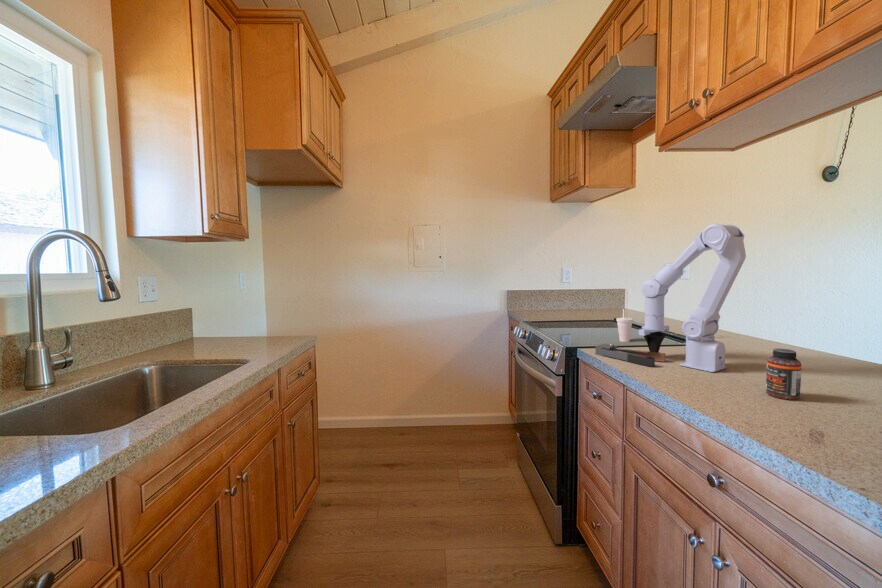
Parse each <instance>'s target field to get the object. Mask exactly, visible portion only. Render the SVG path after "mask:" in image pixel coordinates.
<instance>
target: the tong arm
mask: <svg viewBox="0 0 882 588" xmlns="http://www.w3.org/2000/svg"><path fill="white" fill-rule="evenodd" d="M612 350H617V351H622V352H626V353H633V354H637V355H642V356H647V357H652V358H655V362H663V363H664V362H665V361H666V352H660V351H659V352H650V351H649V350H642V349H641V350H638V349H629V348H628V349H627V348H620V347H618V348H614V349H612Z"/></svg>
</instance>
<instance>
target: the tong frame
mask: <svg viewBox="0 0 882 588" xmlns="http://www.w3.org/2000/svg"><path fill="white" fill-rule="evenodd" d="M614 348H619V347H618V345H616V344H615V343H609V344H608V343H603V344H598V345H595V348H594V349H595V351H594V352H595V355H598V356H603V357H609V358H614V359H618V360H620V361H625V362H629V363H634V364H636V365H637V364H638V365H642V366H646V367H650V368H652V367H655V366H656V361H655V358H652V357H647V356H642V355H637V354H633V353H626V352H622V351H617V350H612V349H614Z"/></svg>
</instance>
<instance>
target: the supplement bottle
mask: <svg viewBox="0 0 882 588" xmlns="http://www.w3.org/2000/svg"><path fill="white" fill-rule="evenodd" d="M802 366H803V365H802V361H800V360H799V359H797V351H796V350H794V349H788V348H773V349H772V356H770V357H768V358H767V361H766V379H765V381H766V382H765V393H766V394H767V395H769V396H770V397H773V398H777V399H780V398H781V399H780V400H786V399H789V400H788V401H793V400H798V399H800V397H801V387H802V385H801V382H802Z"/></svg>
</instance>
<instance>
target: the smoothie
mask: <svg viewBox="0 0 882 588" xmlns="http://www.w3.org/2000/svg"><path fill="white" fill-rule="evenodd" d="M615 320H616V322H617V323H616V324H617V331H618V337H619V342H622V343H629V342H630V341H631V334H632V333H631V332H632V326H633V322H634V319H633V318H632V317H625V308H622V317H617V318H615Z"/></svg>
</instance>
